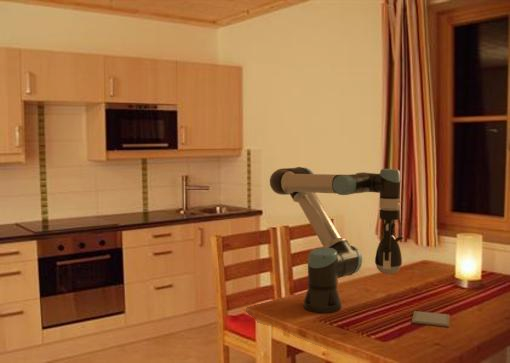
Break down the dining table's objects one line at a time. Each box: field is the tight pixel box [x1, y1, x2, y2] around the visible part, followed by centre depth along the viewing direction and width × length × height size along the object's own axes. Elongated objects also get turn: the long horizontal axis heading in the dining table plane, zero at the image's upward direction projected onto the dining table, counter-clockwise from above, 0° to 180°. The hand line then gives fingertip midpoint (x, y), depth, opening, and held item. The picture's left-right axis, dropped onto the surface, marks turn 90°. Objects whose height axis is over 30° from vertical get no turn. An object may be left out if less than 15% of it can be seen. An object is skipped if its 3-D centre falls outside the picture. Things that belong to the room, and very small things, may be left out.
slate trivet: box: [411, 310, 450, 328], centre depth 205 cm, size 13×13×1 cm
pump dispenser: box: [374, 235, 404, 275], centre depth 212 cm, size 10×10×15 cm
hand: (388, 265), depth 212 cm, fingers closed on pump dispenser, 10 cm apart
